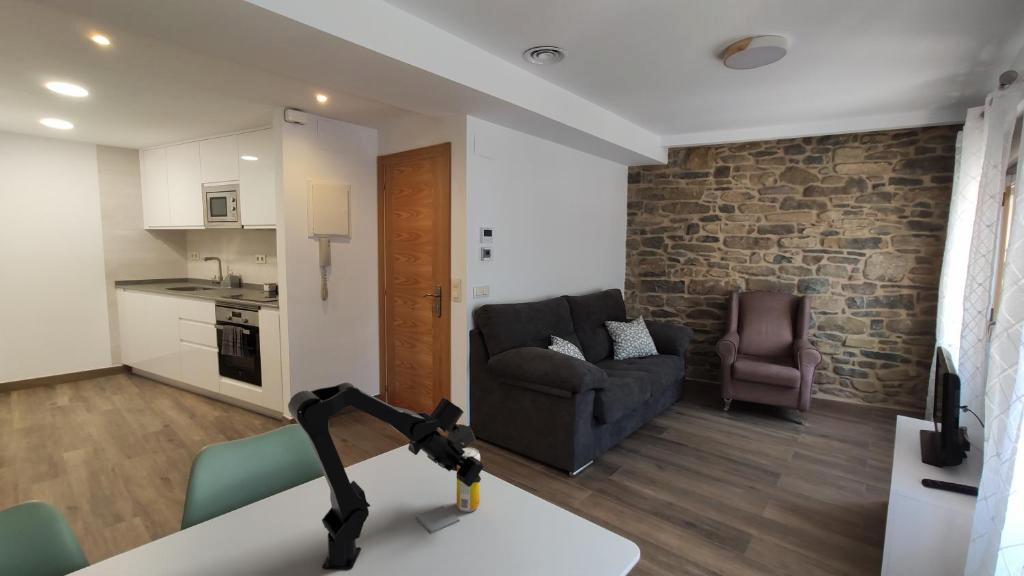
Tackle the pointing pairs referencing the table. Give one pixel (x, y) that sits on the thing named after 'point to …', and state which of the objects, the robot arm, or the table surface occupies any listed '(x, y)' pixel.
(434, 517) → the slate mat
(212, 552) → the table surface
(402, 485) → the table surface
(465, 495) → the beer can
